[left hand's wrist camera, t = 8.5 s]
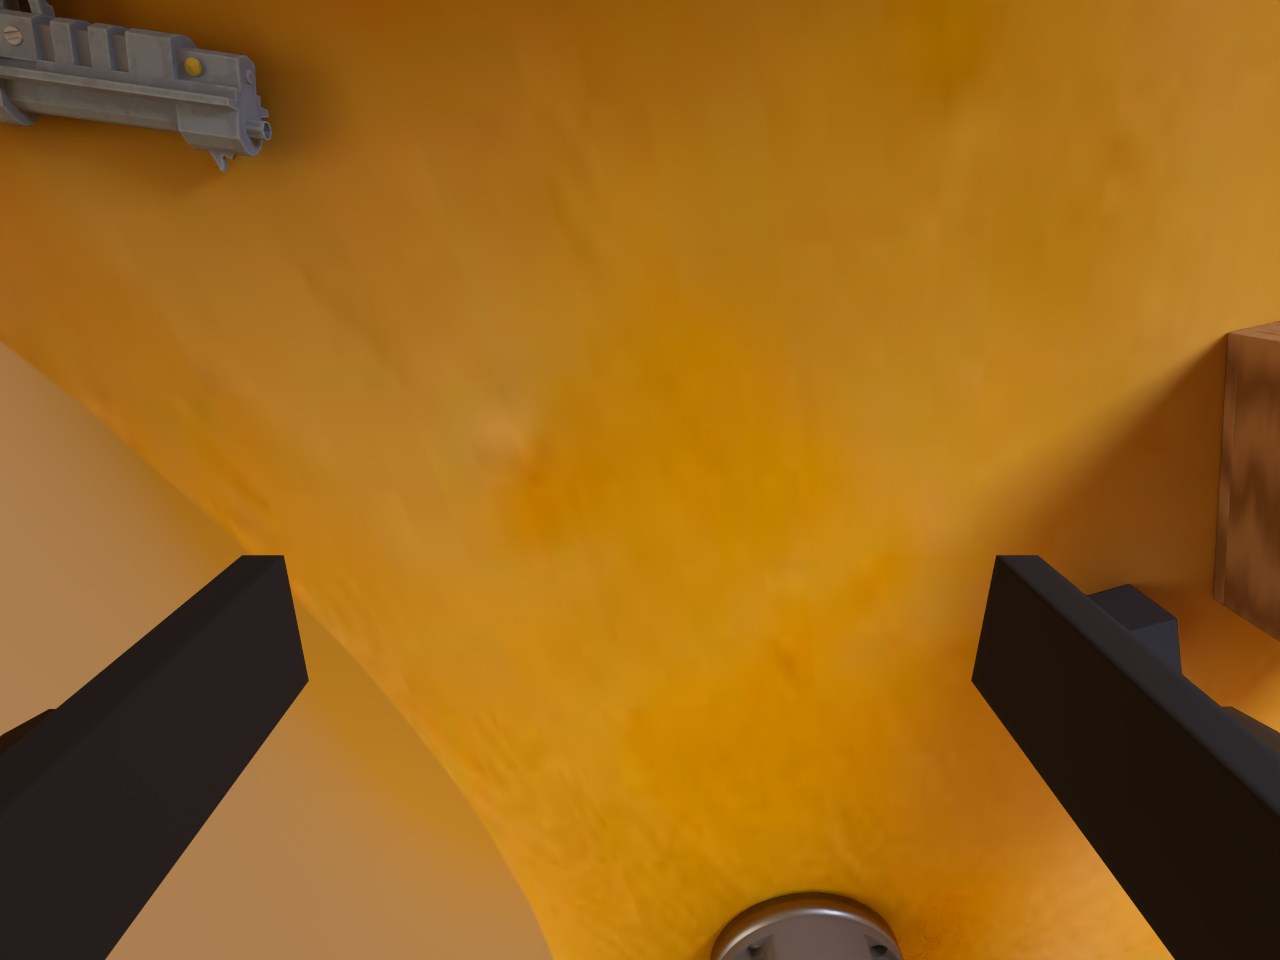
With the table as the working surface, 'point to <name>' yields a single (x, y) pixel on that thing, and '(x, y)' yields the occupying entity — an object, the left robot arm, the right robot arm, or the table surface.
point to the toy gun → (127, 80)
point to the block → (1143, 620)
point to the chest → (1251, 480)
